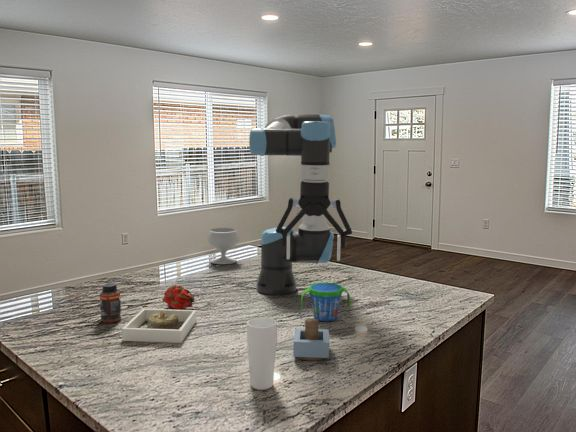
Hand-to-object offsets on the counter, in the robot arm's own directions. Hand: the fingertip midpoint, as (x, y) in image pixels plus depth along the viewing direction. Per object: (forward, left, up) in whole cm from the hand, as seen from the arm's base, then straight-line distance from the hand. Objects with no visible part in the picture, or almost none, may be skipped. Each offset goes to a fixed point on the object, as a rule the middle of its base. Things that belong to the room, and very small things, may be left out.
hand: (313, 258), depth 133 cm
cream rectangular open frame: (-4, -44, -24) cm, 50 cm away
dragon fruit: (-23, -44, -24) cm, 55 cm away
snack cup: (-19, +4, -24) cm, 31 cm away
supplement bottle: (-11, -62, -24) cm, 67 cm away
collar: (+8, 0, -23) cm, 24 cm away
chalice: (-88, -42, -24) cm, 101 cm away
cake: (-7, -44, -24) cm, 51 cm away
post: (+8, 0, -24) cm, 25 cm away
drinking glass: (+26, -11, -24) cm, 37 cm away
